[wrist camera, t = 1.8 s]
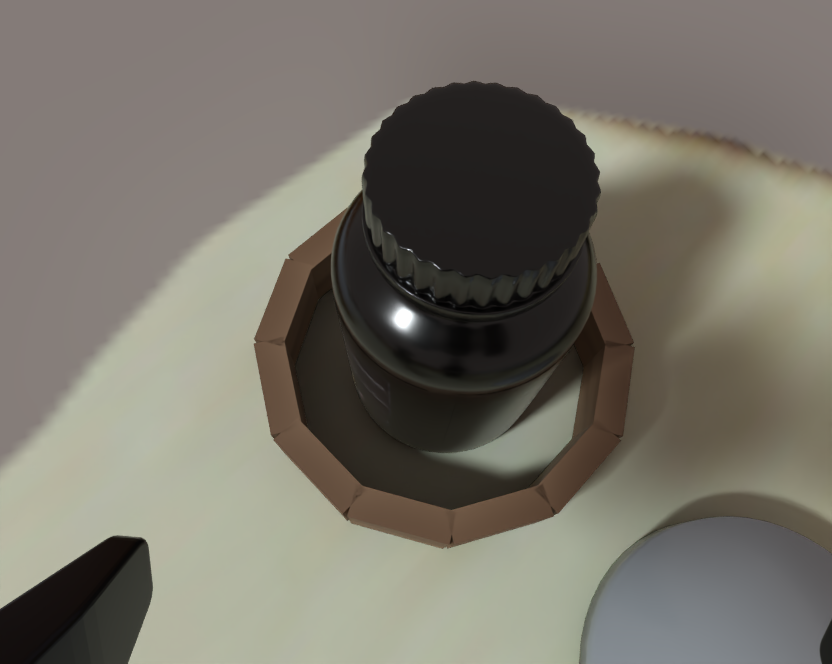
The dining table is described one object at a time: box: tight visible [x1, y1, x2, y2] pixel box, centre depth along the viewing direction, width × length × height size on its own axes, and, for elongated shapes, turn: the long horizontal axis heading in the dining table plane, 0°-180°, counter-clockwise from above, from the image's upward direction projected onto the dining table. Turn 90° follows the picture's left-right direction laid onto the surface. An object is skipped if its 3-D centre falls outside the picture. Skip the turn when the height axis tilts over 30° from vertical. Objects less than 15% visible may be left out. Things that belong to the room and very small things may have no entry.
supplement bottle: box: [331, 81, 601, 453], centre depth 17 cm, size 7×7×12 cm
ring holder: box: [254, 208, 635, 549], centre depth 22 cm, size 13×13×2 cm
